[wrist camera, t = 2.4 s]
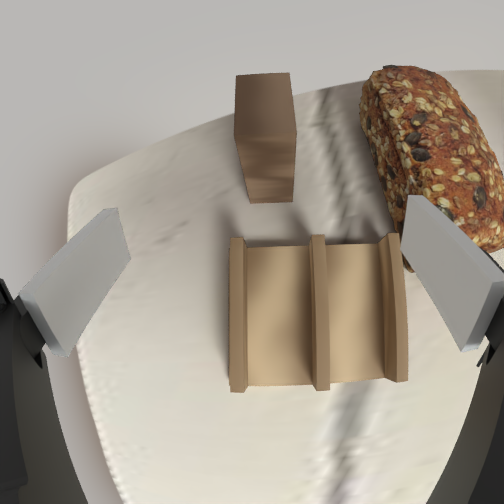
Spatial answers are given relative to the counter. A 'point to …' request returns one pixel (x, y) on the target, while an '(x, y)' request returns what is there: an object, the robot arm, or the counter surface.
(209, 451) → the counter surface
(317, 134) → the counter surface
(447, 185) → the bread
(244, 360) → the divided tray
